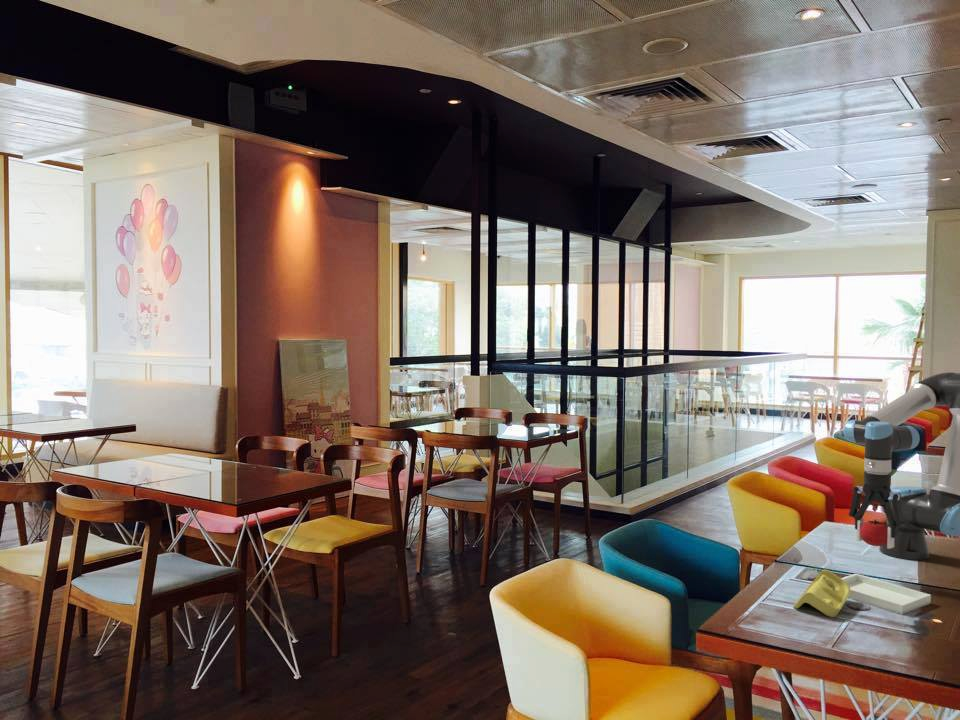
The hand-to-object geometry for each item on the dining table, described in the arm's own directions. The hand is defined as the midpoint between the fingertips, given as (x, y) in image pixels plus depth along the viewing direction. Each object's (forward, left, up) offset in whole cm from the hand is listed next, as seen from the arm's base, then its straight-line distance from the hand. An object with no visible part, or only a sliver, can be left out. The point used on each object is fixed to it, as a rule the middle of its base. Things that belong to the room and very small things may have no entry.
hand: (875, 543), depth 245 cm
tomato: (0, 0, -1) cm, 1 cm away
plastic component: (+36, +5, -11) cm, 38 cm away
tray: (+17, +10, -11) cm, 22 cm away
